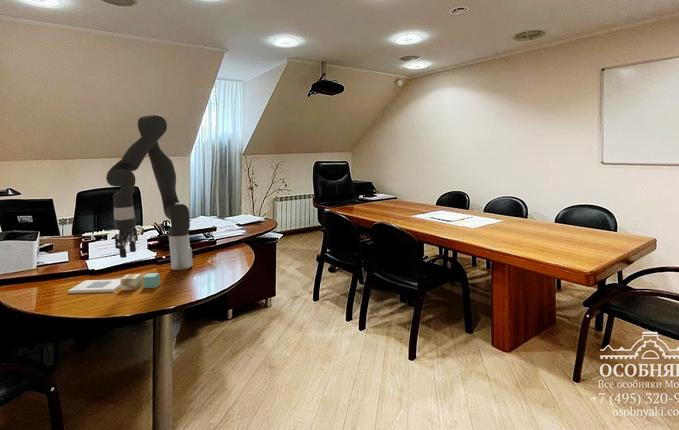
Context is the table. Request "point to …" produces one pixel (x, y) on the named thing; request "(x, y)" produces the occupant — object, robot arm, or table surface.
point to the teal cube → (151, 280)
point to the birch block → (131, 281)
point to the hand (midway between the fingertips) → (128, 254)
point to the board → (96, 286)
